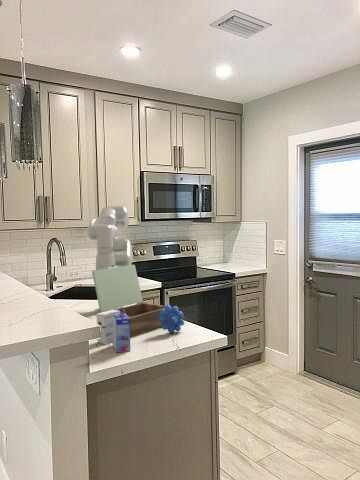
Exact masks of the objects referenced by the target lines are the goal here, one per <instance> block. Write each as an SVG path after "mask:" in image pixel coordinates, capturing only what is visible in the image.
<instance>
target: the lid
mask: <svg viewBox="0 0 360 480" xmlns="http://www.w3.org/2000/svg"><path fill="white" fill-rule="evenodd" d="M91 273H92V277H93V282H94V283H93V284H94V287H95V293H96V298H97V302H98V308H99V309H100V311H99V313H102V311H106V310H111V309H115V308H119V307H127V306H131V305H135V304H139V303H144V301H143V296H142V292H141V286H140V281H139V278H138V273H137V269H136V265H135V264H131V265H128V266H121V267H118V266H116V267H109V268H107V269H100V270H96V269H95V270H94V269H93V270H91Z"/></svg>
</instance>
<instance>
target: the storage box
mask: <svg viewBox="0 0 360 480" xmlns="http://www.w3.org/2000/svg"><path fill="white" fill-rule="evenodd" d="M165 306H166V305H160V304H155V303H147V302H139V303H135V304H131V305H127V306H123V308H119V309H115V310H119V311H120V314H121V312H122V311H123V309H125V313H126V315H127V316H128V317H129V318H130V339H131V338H133V337H134V338H135V337H138V336H140V335H143V334H146V333H150V332H152V331H155V330H159V329H162V327H161V324H162V323H160V322H159V320H158V317H159V316H162V315H160V310H161V309H165ZM123 313H124V311H123ZM158 328H159V329H158Z"/></svg>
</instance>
